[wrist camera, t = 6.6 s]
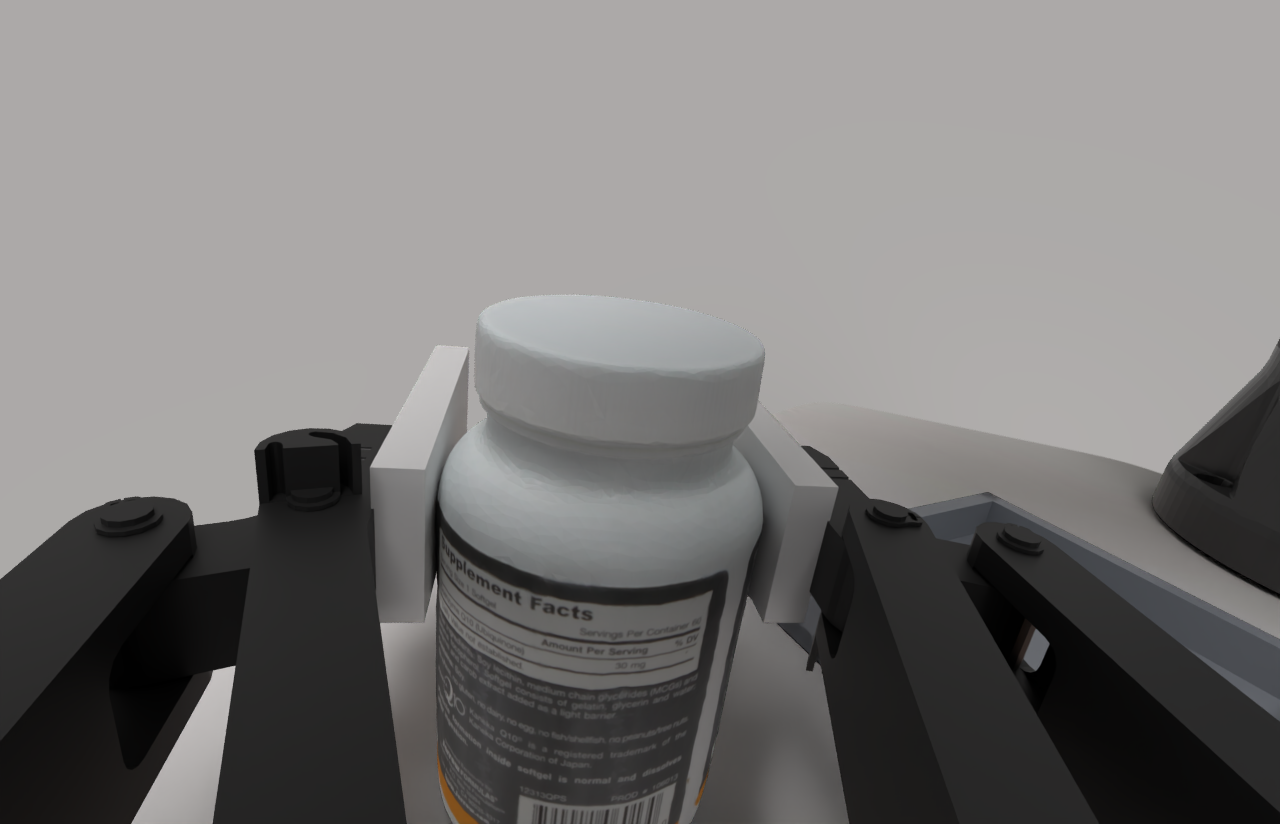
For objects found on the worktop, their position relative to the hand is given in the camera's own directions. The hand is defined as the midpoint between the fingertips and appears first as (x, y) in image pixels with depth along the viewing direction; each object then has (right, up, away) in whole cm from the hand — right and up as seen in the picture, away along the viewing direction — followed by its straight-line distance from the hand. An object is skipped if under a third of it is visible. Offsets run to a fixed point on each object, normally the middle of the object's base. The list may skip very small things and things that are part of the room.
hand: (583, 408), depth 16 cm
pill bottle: (0, -8, -2) cm, 8 cm away
